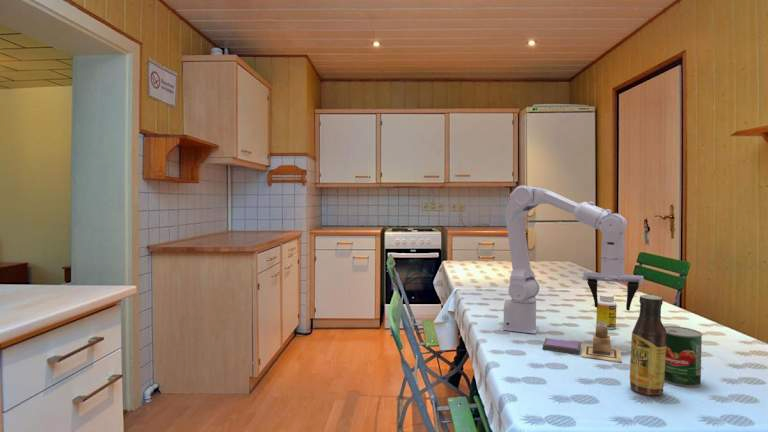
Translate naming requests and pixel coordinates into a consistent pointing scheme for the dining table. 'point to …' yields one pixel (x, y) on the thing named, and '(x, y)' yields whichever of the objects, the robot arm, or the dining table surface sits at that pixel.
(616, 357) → the card sheet
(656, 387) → the sauce bottle
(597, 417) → the dining table surface
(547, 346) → the ink pad
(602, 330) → the stamp
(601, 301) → the supplement bottle
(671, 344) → the canned tomato
